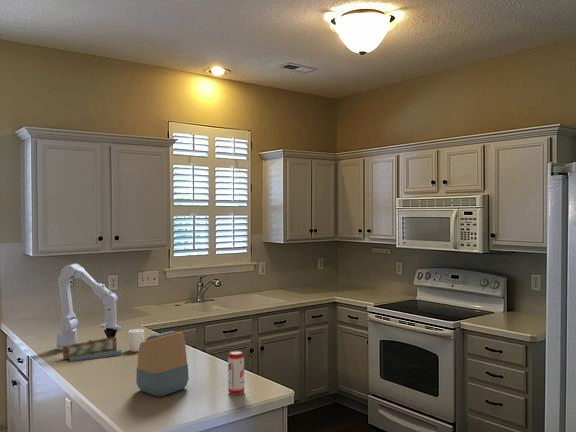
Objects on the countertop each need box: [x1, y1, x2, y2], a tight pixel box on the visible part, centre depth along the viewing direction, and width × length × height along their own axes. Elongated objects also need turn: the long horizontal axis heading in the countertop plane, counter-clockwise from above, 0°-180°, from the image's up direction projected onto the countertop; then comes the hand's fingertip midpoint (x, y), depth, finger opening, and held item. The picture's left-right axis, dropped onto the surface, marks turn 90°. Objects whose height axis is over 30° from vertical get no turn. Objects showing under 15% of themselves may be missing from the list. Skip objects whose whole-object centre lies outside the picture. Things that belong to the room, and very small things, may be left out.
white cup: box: [127, 328, 145, 352], centre depth 270 cm, size 8×8×10 cm
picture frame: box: [62, 336, 118, 360], centre depth 263 cm, size 26×3×6 cm, turn 132°
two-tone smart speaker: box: [135, 330, 189, 398], centre depth 210 cm, size 17×17×23 cm
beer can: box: [227, 350, 245, 396], centre depth 206 cm, size 6×6×16 cm
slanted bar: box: [68, 349, 123, 362], centre depth 257 cm, size 24×3×2 cm, turn 114°
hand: (111, 342), depth 273 cm, fingers closed
